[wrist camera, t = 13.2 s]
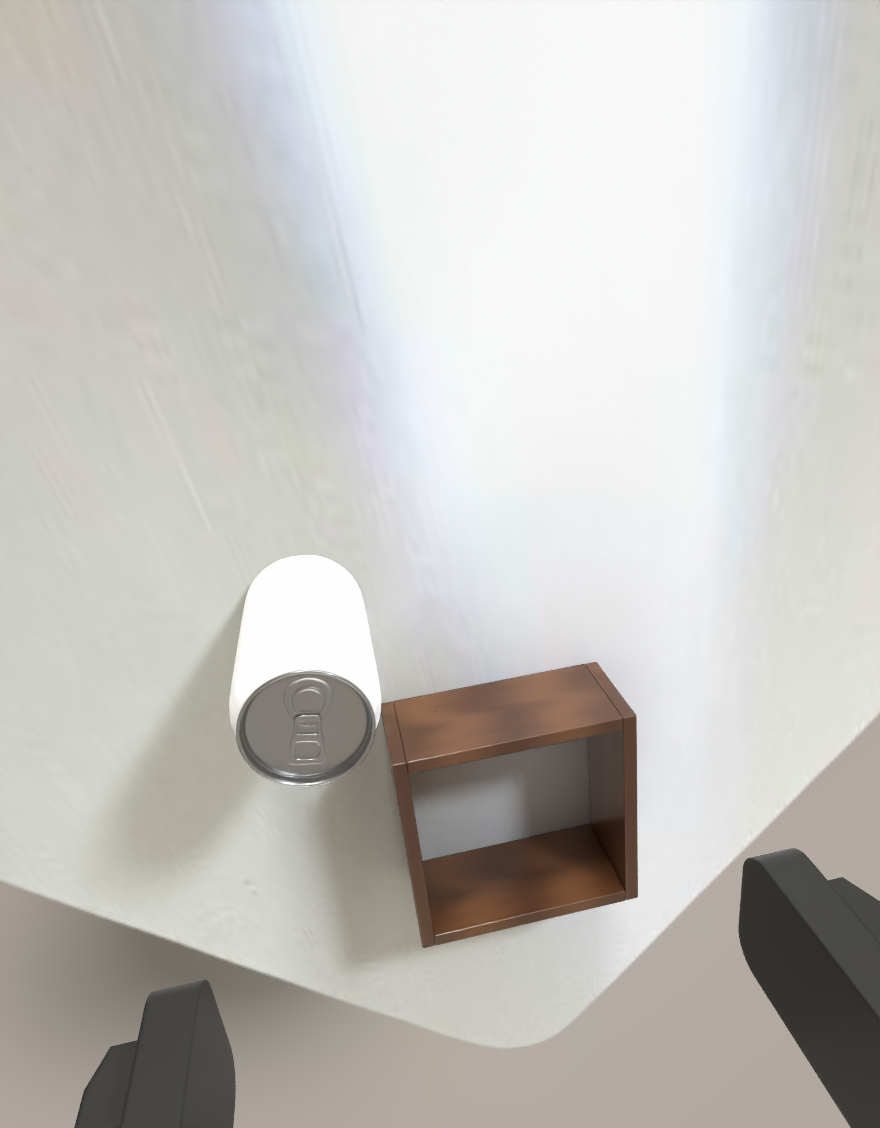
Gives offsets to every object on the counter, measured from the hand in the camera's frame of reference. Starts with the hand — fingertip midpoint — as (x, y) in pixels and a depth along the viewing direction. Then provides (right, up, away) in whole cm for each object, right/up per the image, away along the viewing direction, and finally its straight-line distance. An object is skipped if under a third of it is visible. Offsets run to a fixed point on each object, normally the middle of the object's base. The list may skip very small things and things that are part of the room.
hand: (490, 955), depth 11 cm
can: (-8, +3, +30) cm, 32 cm away
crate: (+3, -8, +37) cm, 38 cm away
